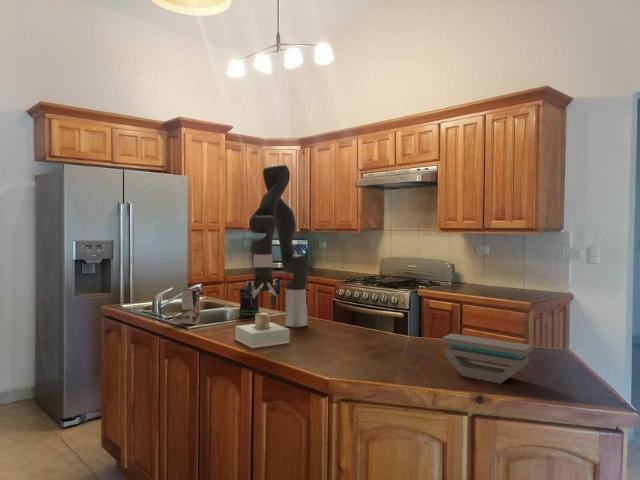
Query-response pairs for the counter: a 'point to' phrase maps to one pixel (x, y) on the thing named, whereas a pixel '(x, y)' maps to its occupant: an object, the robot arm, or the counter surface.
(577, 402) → the counter surface
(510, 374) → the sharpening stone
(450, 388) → the counter surface
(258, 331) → the socket block
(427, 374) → the counter surface
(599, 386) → the counter surface
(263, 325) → the peg
